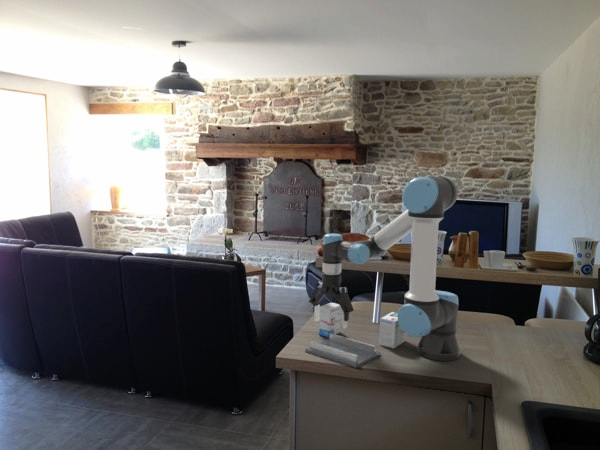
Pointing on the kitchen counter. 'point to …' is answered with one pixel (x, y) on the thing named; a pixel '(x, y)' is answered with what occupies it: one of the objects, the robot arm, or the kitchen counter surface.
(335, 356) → the rail board
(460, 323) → the kitchen counter surface
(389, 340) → the light bulb box
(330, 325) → the ink box
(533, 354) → the kitchen counter surface
